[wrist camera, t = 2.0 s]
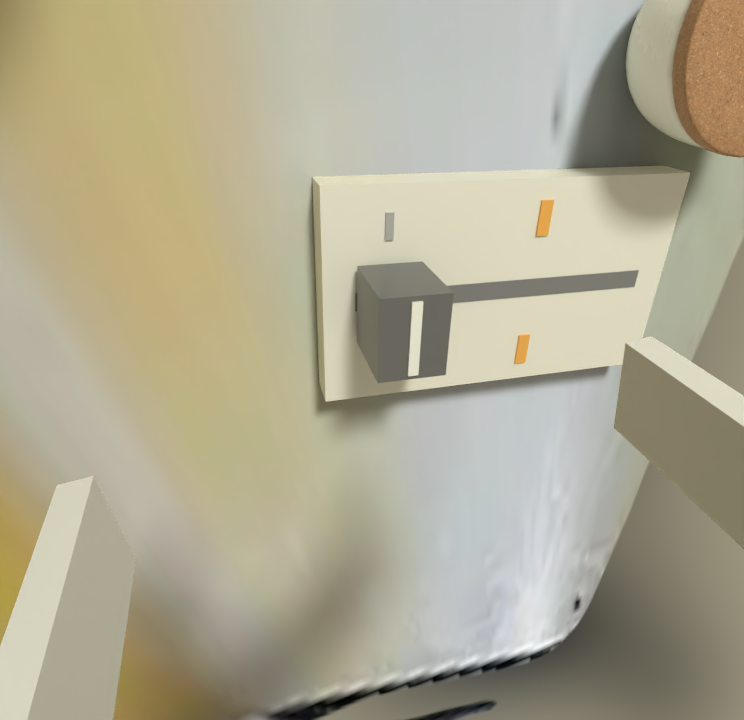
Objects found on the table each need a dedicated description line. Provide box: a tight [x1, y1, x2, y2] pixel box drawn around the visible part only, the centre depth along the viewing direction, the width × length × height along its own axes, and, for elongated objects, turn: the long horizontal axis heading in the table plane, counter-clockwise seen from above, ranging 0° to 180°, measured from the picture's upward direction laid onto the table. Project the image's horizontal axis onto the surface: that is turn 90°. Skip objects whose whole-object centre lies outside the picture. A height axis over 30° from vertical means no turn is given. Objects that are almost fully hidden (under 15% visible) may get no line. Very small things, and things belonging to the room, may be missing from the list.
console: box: [312, 166, 690, 402], centre depth 37 cm, size 24×14×3 cm, turn 89°
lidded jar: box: [626, 0, 744, 157], centre depth 30 cm, size 11×11×9 cm
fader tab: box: [357, 261, 454, 383], centre depth 32 cm, size 4×5×5 cm
